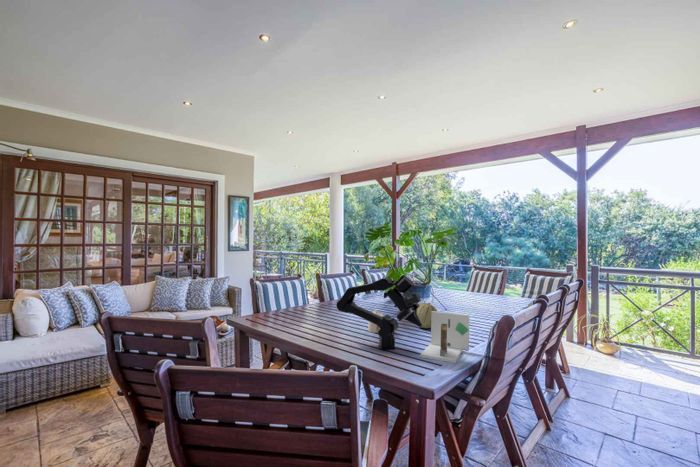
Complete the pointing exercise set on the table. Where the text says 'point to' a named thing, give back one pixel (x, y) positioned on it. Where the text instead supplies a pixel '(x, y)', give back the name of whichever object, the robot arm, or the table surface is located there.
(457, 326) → the gauge base
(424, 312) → the cantaloupe
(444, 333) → the lever
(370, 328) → the teacup with lid
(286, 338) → the table surface
